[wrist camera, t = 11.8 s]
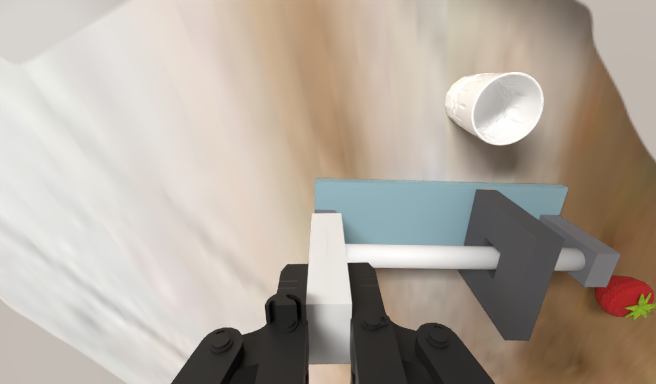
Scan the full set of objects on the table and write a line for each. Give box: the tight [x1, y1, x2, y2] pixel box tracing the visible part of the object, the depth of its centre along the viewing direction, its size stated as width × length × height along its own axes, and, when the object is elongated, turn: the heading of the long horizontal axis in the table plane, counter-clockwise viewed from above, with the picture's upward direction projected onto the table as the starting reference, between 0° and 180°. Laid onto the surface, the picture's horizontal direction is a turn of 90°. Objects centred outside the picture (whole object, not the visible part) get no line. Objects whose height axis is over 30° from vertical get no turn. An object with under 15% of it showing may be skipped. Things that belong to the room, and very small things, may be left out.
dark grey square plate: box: [458, 189, 565, 341], centre depth 42 cm, size 3×14×14 cm, turn 178°
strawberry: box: [595, 276, 656, 321], centre depth 52 cm, size 6×8×10 cm
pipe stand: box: [315, 178, 621, 287], centre depth 46 cm, size 38×14×12 cm, turn 88°
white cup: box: [445, 72, 544, 145], centre depth 40 cm, size 8×8×10 cm
